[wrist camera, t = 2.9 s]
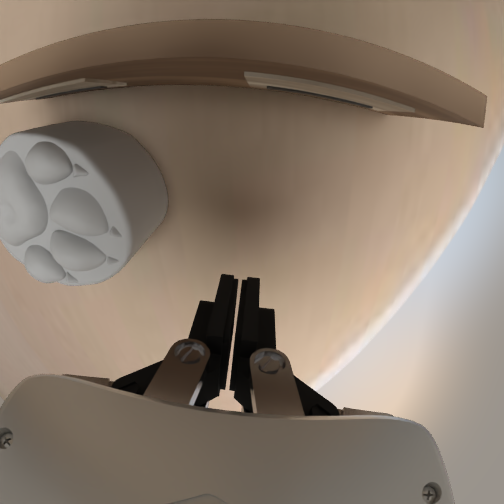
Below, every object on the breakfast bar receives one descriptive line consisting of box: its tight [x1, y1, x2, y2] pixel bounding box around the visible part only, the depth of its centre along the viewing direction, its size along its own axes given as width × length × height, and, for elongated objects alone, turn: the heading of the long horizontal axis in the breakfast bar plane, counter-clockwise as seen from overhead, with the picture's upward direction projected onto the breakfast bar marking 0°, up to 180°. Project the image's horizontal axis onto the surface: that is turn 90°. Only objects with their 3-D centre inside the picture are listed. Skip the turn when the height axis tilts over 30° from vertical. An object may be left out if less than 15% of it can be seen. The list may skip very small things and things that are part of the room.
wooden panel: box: [0, 19, 487, 128], centre depth 12 cm, size 2×28×11 cm, turn 84°
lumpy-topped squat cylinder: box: [0, 121, 168, 286], centre depth 17 cm, size 10×13×9 cm
